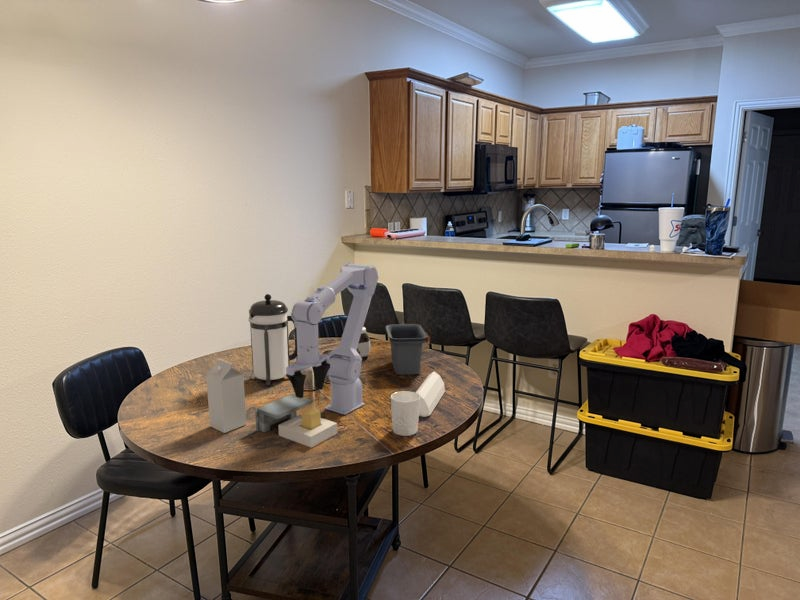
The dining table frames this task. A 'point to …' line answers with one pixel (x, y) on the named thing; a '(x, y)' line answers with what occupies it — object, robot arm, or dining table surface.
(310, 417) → the peg
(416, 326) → the storage bin
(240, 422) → the milk carton
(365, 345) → the spread jar
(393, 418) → the white cup
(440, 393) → the white pentagonal prism
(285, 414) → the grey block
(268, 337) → the coffee press
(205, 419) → the dining table surface
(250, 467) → the dining table surface
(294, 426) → the socket
